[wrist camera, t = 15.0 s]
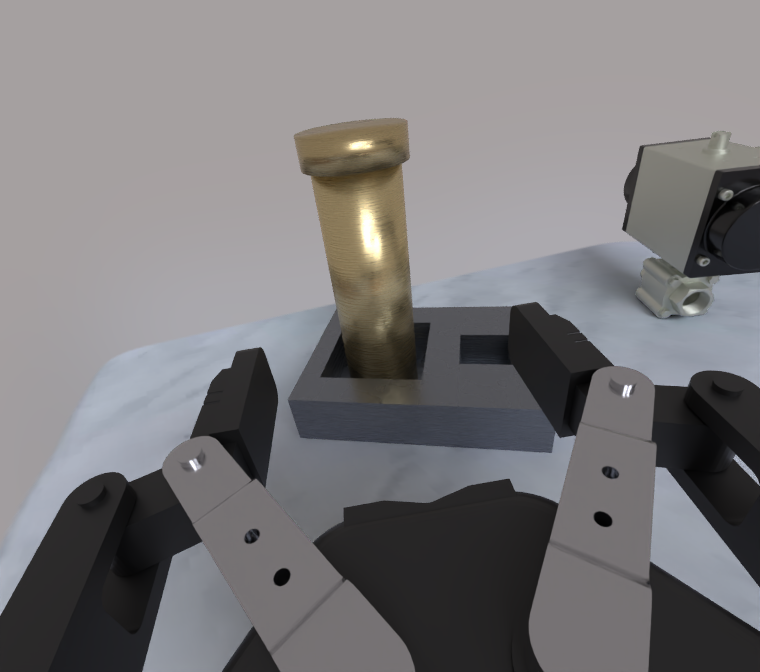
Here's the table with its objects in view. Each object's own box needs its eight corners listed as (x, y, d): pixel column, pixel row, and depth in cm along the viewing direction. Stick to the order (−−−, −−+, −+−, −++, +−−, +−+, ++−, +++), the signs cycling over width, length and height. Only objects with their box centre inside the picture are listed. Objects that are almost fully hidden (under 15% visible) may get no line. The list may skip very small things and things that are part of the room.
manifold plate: (529, 342, 29) (532, 306, 27) (551, 452, 21) (558, 410, 19) (343, 341, 32) (336, 308, 30) (300, 437, 24) (287, 399, 22)
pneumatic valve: (680, 353, 26) (750, 154, 20) (603, 276, 36) (633, 125, 29) (773, 347, 26) (877, 140, 19) (669, 270, 35) (715, 115, 29)
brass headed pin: (427, 356, 28) (413, 114, 20) (419, 408, 24) (398, 131, 16) (355, 354, 29) (314, 125, 21) (336, 404, 25) (275, 142, 17)
